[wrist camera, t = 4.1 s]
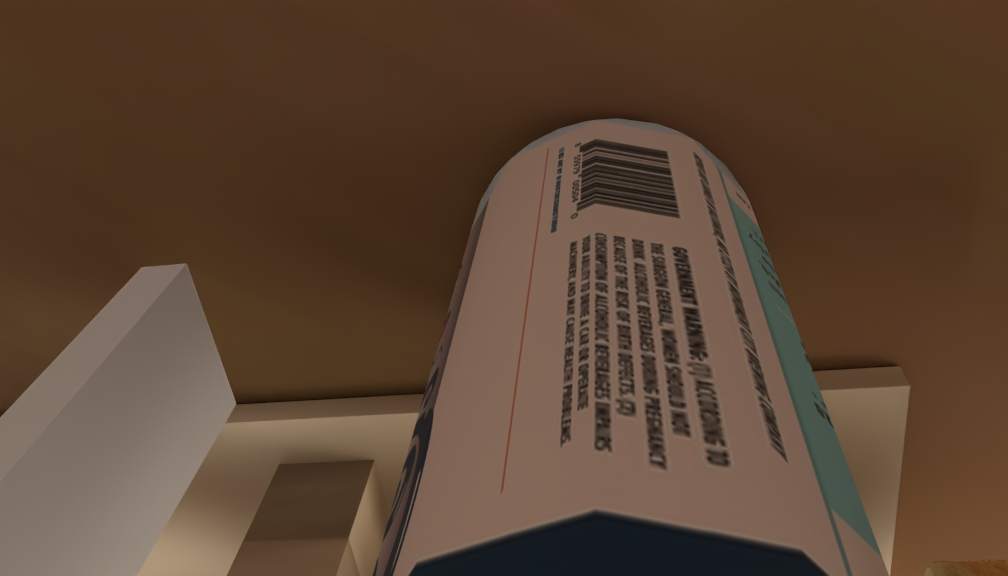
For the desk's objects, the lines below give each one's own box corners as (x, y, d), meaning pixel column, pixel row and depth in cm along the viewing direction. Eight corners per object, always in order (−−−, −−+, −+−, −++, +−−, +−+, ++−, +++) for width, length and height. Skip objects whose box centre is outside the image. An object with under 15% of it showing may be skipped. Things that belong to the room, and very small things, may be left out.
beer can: (418, 233, 15) (54, 1140, 5) (623, 45, 14) (711, 892, 3) (600, 398, 17) (609, 1373, 6) (809, 249, 15) (1301, 1304, 5)
